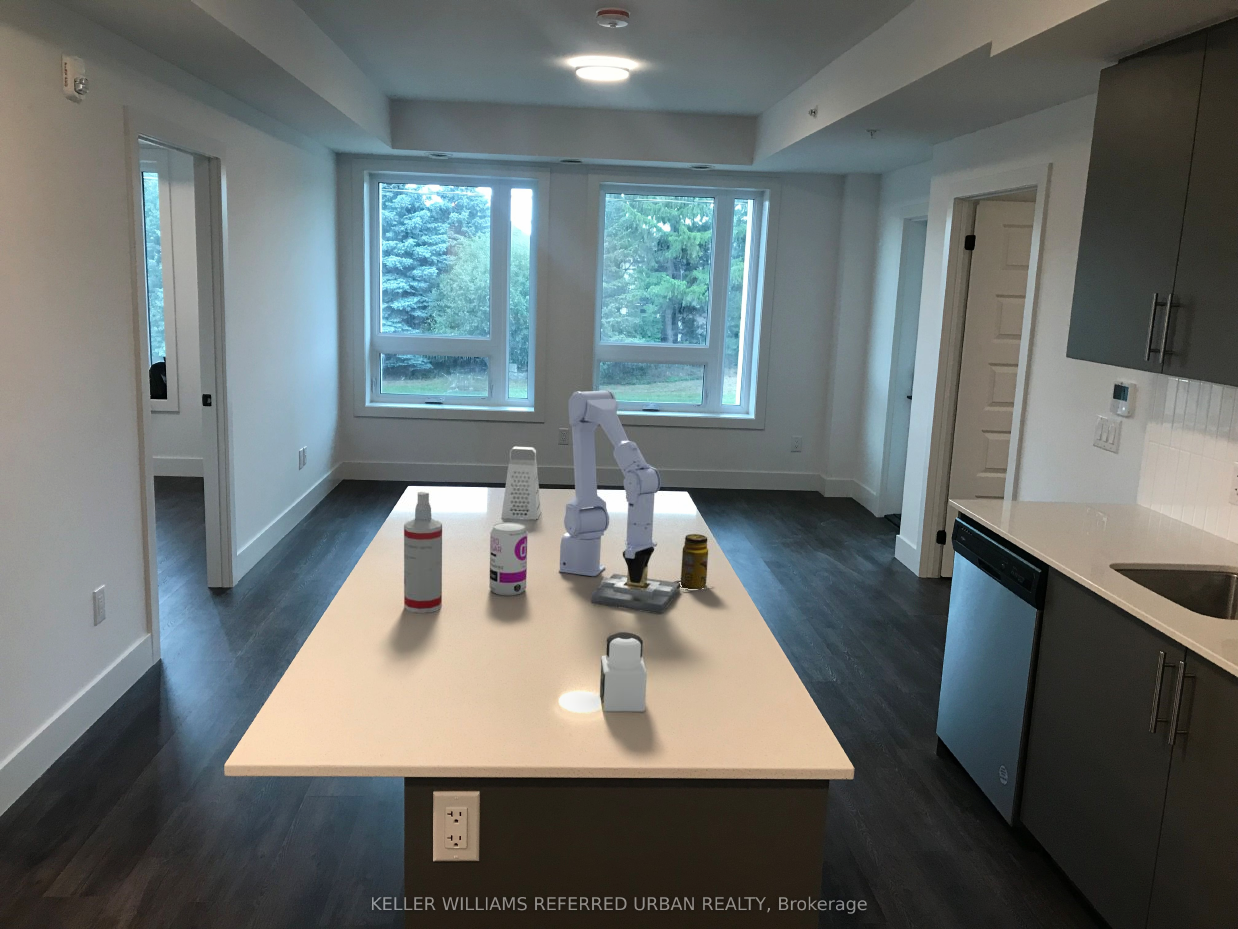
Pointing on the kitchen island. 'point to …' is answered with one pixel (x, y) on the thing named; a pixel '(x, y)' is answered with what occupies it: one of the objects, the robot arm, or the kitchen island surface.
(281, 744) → the kitchen island surface
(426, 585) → the spray bottle
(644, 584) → the wooden rectangular block
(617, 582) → the bracket
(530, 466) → the grater
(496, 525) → the supplement can
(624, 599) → the grey square plate
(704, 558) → the condiment
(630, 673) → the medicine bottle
